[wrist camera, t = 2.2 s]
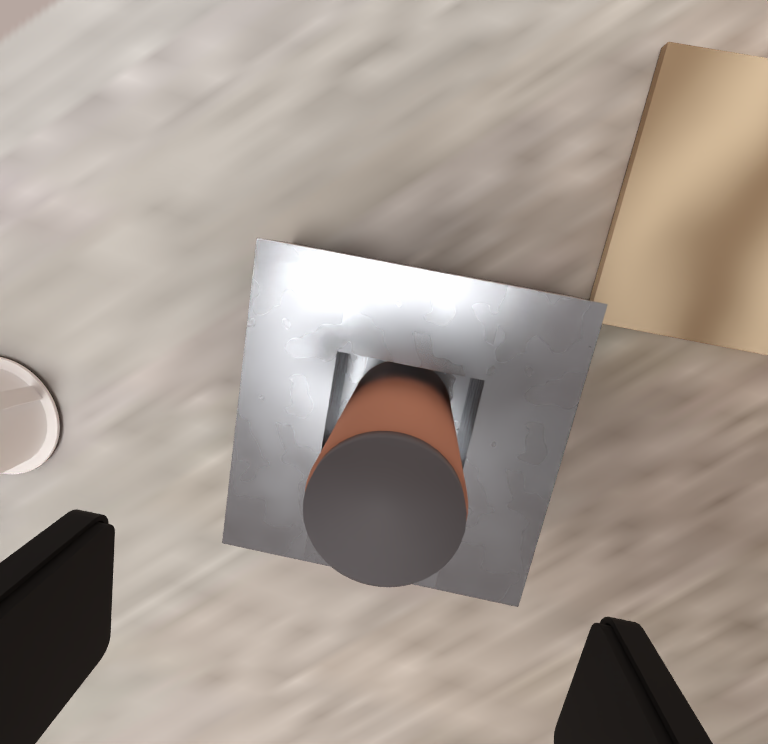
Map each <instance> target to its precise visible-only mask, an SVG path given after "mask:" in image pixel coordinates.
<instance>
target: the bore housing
mask: <svg viewBox="0 0 768 744" xmlns="http://www.w3.org/2000/svg"><path fill="white" fill-rule="evenodd" d="M607 305H608V304H604V303H600V302H595V301H591V300H587V299H582V298H578V297H573V296H569V295H564V294H558V293H553V292H548V291H543V290H537V289H532V288H527V287H521V286H516V285H511V284H506V283H500V282H495V281H490V280H484V279H479V278H474V277H469V276H463V275H458V274H453V273H447V272H442V271H437V270H432V269H426V268H421V267H416V266H410V265H405V264H400V263H395V262H389V261H384V260H379V259H374V258H368V257H363V256H358V255H352V254H347V253H342V252H337V251H331V250H326V249H321V248H315V247H310V246H305V245H300V244H294V243H288V242H281V241H275V240H268V239H261V238H257V242H256V251H255V260H254V269H253V277H252V286H251V295H250V304H249V312H248V321H247V330H246V339H245V348H244V356H243V365H242V374H241V383H240V391H239V400H238V409H237V418H236V427H235V435H234V444H233V453H232V462H231V470H230V479H229V488H228V497H227V506H226V514H225V523H224V532H223V541H222V543H224V544H229V545H234V546H238V547H243V548H247V549H252V550H257V551H261V552H266V553H271V554H275V555H280V556H284V557H289V558H294V559H298V560H303V561H308V562H312V563H317V564H322V565H326V566H330V565H329V564H328V563H327V562H326V561H325V560H324V559H323V558H322V557H321V556H320V555H319V554H318V552H317V551H316V549H315V548H314V546H313V545H312V543H311V541H310V539H309V537H308V534H307V531H306V528H305V524H304V519H303V500H304V495H305V488H306V483H307V479H308V476H309V474H310V471H311V469H312V467H313V465H314V464H315V462H316V460H317V458H318V456H319V454H320V453H321V451H322V449H323V447H324V445H325V443H326V442H327V440H328V438H329V436H330V434H331V432H332V431H333V429H334V427H335V425H336V423H337V421H338V420H339V418H340V416H341V414H342V412H343V410H344V409H345V407H346V405H347V403H348V401H349V399H350V398H351V396H352V394H353V392H354V390H355V389H356V387H357V385H358V383H359V381H360V380H361V379H362V377H363V376H364V375H365V374H366V373H367V372H368V371H369V370H370V369H372V368H373V367H375V366H376V365H378V364H381V363H383V362H386V361H389V362H394V363H399V364H404V365H409V366H414V367H419V368H424V369H430V370H433V371H434V372H435V373H436V374H437V375H438V376H439V377H440V379H441V380H442V381H443V383H444V385H445V386H446V389H447V391H448V394H449V398H450V403H451V409H452V414H453V419H454V425H455V430H456V436H457V441H458V446H459V452H460V457H461V463H462V468H463V473H464V479H465V484H466V490H467V496H468V515H467V521H466V528H465V533H464V536H463V539H462V542H461V544H460V546H459V548H458V550H457V551H456V553H455V554H454V556H453V557H452V559H451V560H450V561H449V562H448V563H447V564H446V565H445V566H444V567H443V568H442V569H440V570H439V571H438V572H436V573H435V574H433V575H432V576H430V577H428V578H426V579H424V580H422V581H419V582H416V583H413V584H414V585H419V586H423V587H428V588H433V589H437V590H442V591H447V592H451V593H456V594H460V595H465V596H470V597H474V598H479V599H484V600H488V601H493V602H498V603H502V604H507V605H511V606H516V607H518V606H519V602H520V599H521V596H522V592H523V589H524V586H525V582H526V579H527V575H528V572H529V569H530V565H531V562H532V559H533V555H534V552H535V548H536V545H537V542H538V538H539V535H540V532H541V528H542V525H543V521H544V518H545V515H546V511H547V508H548V504H549V501H550V498H551V494H552V491H553V488H554V484H555V481H556V477H557V474H558V471H559V467H560V464H561V461H562V457H563V454H564V450H565V447H566V444H567V440H568V437H569V434H570V430H571V427H572V423H573V420H574V417H575V413H576V410H577V407H578V403H579V400H580V396H581V393H582V390H583V386H584V383H585V380H586V376H587V373H588V369H589V366H590V363H591V359H592V356H593V353H594V349H595V346H596V342H597V339H598V336H599V332H600V329H601V326H602V322H603V319H604V315H605V312H606V309H607Z"/></svg>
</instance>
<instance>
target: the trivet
mask: <svg viewBox="0 0 768 744" xmlns="http://www.w3.org/2000/svg"><path fill="white" fill-rule="evenodd" d="M590 300H591V301H595V302H600V303H604V304H608V305H607V309H606V312H605V315H604V319H603V322H602V324H607V325H612V326H617V327H622V328H628V329H633V330H638V331H643V332H649V333H654V334H659V335H664V336H669V337H675V338H680V339H685V340H690V341H696V342H701V343H706V344H711V345H717V346H722V347H727V348H732V349H737V350H743V351H748V352H753V353H758V354H764V355H768V58H763V57H757V56H751V55H745V54H739V53H733V52H727V51H721V50H715V49H709V48H703V47H697V46H691V45H685V44H679V43H673V42H668V43H667V44H665V45H664V46H663V47H662V48H661V52H660V55H659V59H658V62H657V66H656V69H655V73H654V76H653V80H652V83H651V87H650V90H649V94H648V97H647V101H646V104H645V108H644V111H643V115H642V118H641V122H640V125H639V129H638V132H637V136H636V139H635V143H634V146H633V150H632V153H631V157H630V160H629V164H628V167H627V170H626V174H625V177H624V181H623V184H622V188H621V191H620V195H619V198H618V202H617V205H616V209H615V212H614V216H613V219H612V223H611V226H610V230H609V233H608V237H607V240H606V244H605V247H604V251H603V254H602V258H601V261H600V265H599V268H598V272H597V275H596V279H595V282H594V286H593V289H592V293H591V296H590Z"/></svg>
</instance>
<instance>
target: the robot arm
mask: <svg viewBox="0 0 768 744" xmlns="http://www.w3.org/2000/svg"><path fill="white" fill-rule="evenodd" d="M114 539H115V529H114V526H113V525H110V524H108V519H107V517H106V516H105V515H101V514H97V513H92V512H87V511H82V510H72V511H70V512H68V513H67V514H65V515H64V516H63V517H61V518H60V519H59V520H57V521H56V522H55V523H53V524H52V525H51V526H49V527H48V528H47V529H45V530H44V531H42V532H41V533H40V534H38V535H37V536H36V537H34V538H33V539H32V540H30V541H29V542H28V543H26V544H25V545H24V546H22V547H21V548H20V549H18V550H17V551H16V552H14V553H13V554H11V555H10V556H9V557H7V558H6V559H5V560H3V561H2V562H1V563H0V744H35V743H36V742H37V741H38V739H39V738H40V737H41V736H42V734H43V733H44V732H45V730H46V729H47V728H48V727H49V725H50V724H51V723H52V721H53V720H54V719H55V718H56V716H57V715H58V714H59V712H60V711H61V710H62V709H63V707H64V706H65V705H66V703H67V702H68V701H69V700H70V698H71V697H72V696H73V694H74V693H75V692H76V691H77V689H78V688H79V687H80V685H81V684H82V683H83V682H84V680H85V679H86V678H87V677H88V675H89V674H90V673H91V671H92V670H93V669H94V668H95V666H96V665H97V664H98V662H99V661H100V660H101V658H102V657H103V655H104V653H105V651H106V649H107V647H108V644H109V641H110V633H111V610H112V586H113V563H114ZM554 744H713V743H712V742H711V740H710V738H709V737H708V735H707V733H706V732H705V730H704V728H703V727H702V725H701V723H700V722H699V720H698V719H697V717H696V715H695V714H694V712H693V710H692V709H691V707H690V705H689V704H688V702H687V700H686V699H685V697H684V695H683V694H682V692H681V691H680V689H679V687H678V686H677V684H676V682H675V681H674V679H673V677H672V676H671V674H670V672H669V671H668V669H667V667H666V666H665V664H664V662H663V661H662V659H661V658H660V656H659V654H658V653H657V651H656V649H655V648H654V646H653V644H652V643H651V641H650V639H649V638H648V636H647V634H646V633H645V631H644V630H643V628H642V627H641V626H640V624H638V623H636V622H631V621H626V620H621V619H616V618H612V617H604V618H603V619H602V620H601V622H600V623H594V624H593V625H592V627H591V629H590V631H589V634H588V637H587V640H586V643H585V646H584V648H583V651H582V654H581V657H580V660H579V663H578V665H577V668H576V671H575V674H574V677H573V680H572V682H571V685H570V688H569V691H568V694H567V697H566V699H565V702H564V705H563V708H562V711H561V713H560V716H559V719H558V722H557V725H556V728H555V732H554Z"/></svg>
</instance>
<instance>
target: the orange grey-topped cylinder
mask: <svg viewBox="0 0 768 744" xmlns="http://www.w3.org/2000/svg"><path fill="white" fill-rule="evenodd" d="M467 515H468V496H467V490H466V484H465V479H464V473H463V468H462V463H461V457H460V452H459V446H458V441H457V436H456V430H455V425H454V419H453V414H452V409H451V403H450V398H449V394H448V391H447V389H446V386H445V385H444V383H443V381H442V380H441V379H440V377H439V376H438V375H437V374H436V373H435V372H434V371H433V370H430V369H424V368H419V367H414V366H409V365H404V364H399V363H394V362H389V361H386V362H383V363H381V364H378V365H376V366H375V367H373V368H372V369H370V370H369V371H368V372H367V373H366V374H365V375H364V376H363V377H362V379H361V380H360V381H359V383H358V385H357V387H356V389H355V390H354V392H353V394H352V396H351V398H350V399H349V401H348V403H347V405H346V407H345V409H344V410H343V412H342V414H341V416H340V418H339V420H338V421H337V423H336V425H335V427H334V429H333V431H332V432H331V434H330V436H329V438H328V440H327V442H326V443H325V445H324V447H323V449H322V451H321V453H320V454H319V456H318V458H317V460H316V462H315V464H314V465H313V467H312V469H311V471H310V474H309V476H308V479H307V483H306V488H305V495H304V500H303V519H304V524H305V528H306V531H307V534H308V537H309V539H310V541H311V543H312V545H313V546H314V548H315V549H316V551H317V552H318V554H319V555H320V556H321V557H322V558H323V559H324V560H325V561H326V562H327V563H328V564H329V565H330V566H331V567H332V568H334V569H335V570H336V571H338V572H339V573H341V574H343V575H344V576H346V577H348V578H350V579H352V580H355V581H357V582H360V583H364V584H367V585H372V586H378V587H399V586H405V585H410V584H413V583H416V582H419V581H422V580H424V579H426V578H428V577H430V576H432V575H433V574H435V573H436V572H438V571H439V570H440V569H442V568H443V567H444V566H445V565H446V564H447V563H448V562H449V561H450V560H451V559H452V557H453V556H454V554H455V553H456V551H457V550H458V548H459V546H460V544H461V542H462V539H463V536H464V533H465V528H466V521H467Z"/></svg>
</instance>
